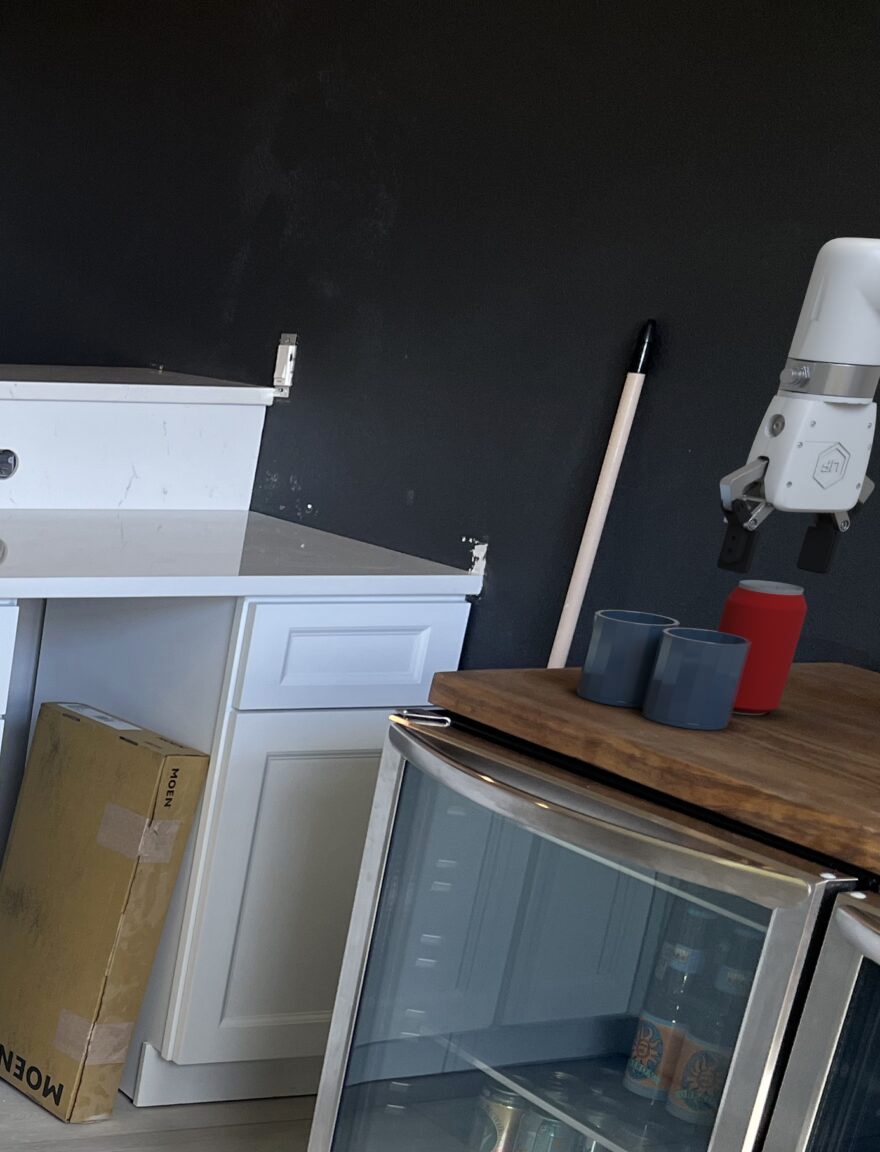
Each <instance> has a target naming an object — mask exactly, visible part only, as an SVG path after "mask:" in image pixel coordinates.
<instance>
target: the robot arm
mask: <svg viewBox="0 0 880 1152" xmlns="http://www.w3.org/2000/svg"><path fill="white" fill-rule="evenodd" d="M879 380H880V238H869V237H868V238H867V237H836V238H834V239H831V240H829V241H827V242H826V243H825V244H824V245H822V247H821V248H820V249H819V251H818V253H817V256H816V259H815V262H814V265H813V269H812V272H811V275H810V278H809V283H808V286H807V289H806V293H805V297H804V300H803V303H802V306H801V311H800V314H799V317H798V321H797V324H796V328H795V330H794V335H793V337H792V341H791V344H790V348H789V351H788V355H787V358H786V361H785V365H784V369H782V371H781V372H780V375H779V381H780V383H779V386H778V390H777V393H776V394H775V395H774V396H773V398H772V399H771V402H770V403H769V405H768V407H767V410H766V412H765V414H764V416H763V418H762V421H761V422H760V423H761V424H760V425H759V428H758V430H757V433H756V435H755V438H754V441H753V442H752V446H751V449H750V451H749V454H748V456H747V460H746V463H745V465H744V466H742V467H740V468H738V469H736V470H735V471H732V472H731V473H729V474H728V475H725V476H724V477H722V478H721V480H720V481H719V489H720V497H721V502H720V509H721V510H722V511H721V512H722V513H723V515H724V518H723V524H724V525H725V526H727V528H726V531H725V534H724V538H723V541H722V546H721V549H720V552H719V556H718V559H717V563H716V566H717V568H718V569H720V570H724V571H728V572H733V573H735V574H744V575H745V574H748V573H749V572H750V571H751V567H752V564H753V561H754V557H755V554H756V550H757V547H758V543H759V540H760V536H761V530H758V529H756V528H757V527H758V526H759V525H760V524H761V523H762V522H763V521H764V520H765V519H766V518H767V517H768V516H769V515H770V514H771V513H772V511H773V510H774V509H776V510H778V511H780V512H788V513H811V516H812V519H813V522H814V525H815V526H814V525H808V526H807V529H806V532H805V535H804V538H803V542H802V545H801V549H800V552H799V555H798V558H797V561H796V567H797V569H799V570H803V571H807V572H812V573H816V574H821V575H827V574H829V573H830V571H831V568H832V565H833V562H834V559H835V557H836V552H837V549H838V547H839V546H838V545H839V542H840V540H841V536H842V533H843V532H846V531H847V530H848V529H849V527H850V525H851V521H853V519H854V518H855V517H857V515H858V514H859V513H860V512H861V510H862V509H863V505H864V503H865V502H866V501H867V499H868V498H869V497H870V496H871V494H872V492H873V491H874V489H875V485H876V484H875V482H874V481H873V480H871V478H869V476H867V474H866V473H867V470H868V469H867V468H868V465H869V461H870V456H871V452H872V449H873V442H874V438H875V437H874V436H875V430H876V422H877V407H878V406H877V403H876V402H874V401H873V399H874V396H875V393H876V390H877V386H878V383H879ZM752 508H754V509H753V510H752V511H750V510H751V509H752Z"/></svg>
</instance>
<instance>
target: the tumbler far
mask: <svg viewBox="0 0 880 1152" xmlns="http://www.w3.org/2000/svg"><path fill="white" fill-rule="evenodd" d="M680 624H681V623H680V621H678V620H677V619H675V618H671V617H669V616H664V615H660V614H655V613H650V612H644V611H643V612H642V611H635V610H624V609H601V610H598V611H595V612H594V617H593V619H592V625H591V629H590V632H589V637H588V641H587V645H586V649H585V654H584V656H583V661H582V664H581V665H582V666H581V670H580V674H579V677H578V682H577V686H576V688H577V689H576V695H577V696H578V697H579V698H583V699H585V700H587V701H591V702H595V703H598V704H604V705H610V706H615V707H621V708H623V707H624V708H638V709H639V708H640V709H643V708H642V707H643V703H644V700H645V696H646V692H647V688H648V684H649V680H650V676H651V673H652V669H653V665H654V661H655V657H656V653H657V649H658V646H659V642H660V638H661V634H662V630H664V629H667V628H680Z"/></svg>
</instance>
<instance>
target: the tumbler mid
mask: <svg viewBox="0 0 880 1152" xmlns="http://www.w3.org/2000/svg"><path fill="white" fill-rule="evenodd" d="M751 643H752V642H751V641H750V640H749V639H747V638H744V637H741V636H738V635H734V634H729V633H725V632H719V631H718V630H713V629H711V630H710V629H705V628H704V629H703V628H693V627H679V628H667V629H664V630H662V634H661V638H660V642H659V646H658V649H657V653H656V657H655V661H654V665H653V669H652V673H651V676H650V680H649V684H648V688H647V692H646V696H645V700H644V703H643V707H642V708H641V709H642V710H641V715H642V717H644V718H645V719H648V720H649V721H651V722H655V723H659V724H661V725H662V724H663V725H667V726H671V727H675V728H676V727H677V728H682V729H690V730H700V731H717V730H718V731H719V730H724V729H727V728H728V726H729V722H730V721H731V718H732V715H733V713H732V711H733V708H734V704H735V700H736V697H737V693H738V690H739V686H740V682H741V679H742V675H743V672H744V668H745V665H746V661H747V657H748V654H749V650H750V647H751Z"/></svg>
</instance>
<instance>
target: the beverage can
mask: <svg viewBox="0 0 880 1152" xmlns="http://www.w3.org/2000/svg"><path fill="white" fill-rule="evenodd" d="M731 591H732V592H730V593H729V595H728V596H727V597H726V599H725V603H724V607H723V609H722V613H721V616H720V620H719V623H718V628H717V631H719V632H725V633H729V634H734V635H738V636H741V637H744V638H747V639H749V640H750V641H751V642H752V643H751V647H750V650H749V654H748V657H747V661H746V665H745V668H744V672H743V675H742V679H741V682H740V686H739V690H738V693H737V697H736V700H735V704H734V708H733V711H732V714H736V715H745V716H762V715H765V714H767V713H768V712H772V711H774V710H777V709H779V707H780V704H781V700H782V697H783V694H784V692H785V688H786V684H787V681H788V678H789V674H790V670H791V667H792V664H793V661H794V657H795V653H796V649H797V646H798V642H799V639H800V637H801V633H802V628H803V625H804V622H805V618H806V614H807V611H808V610H807V609H808V605H807V601H806V599H805V594H804V591H805V589H804V587H802V586H799V585H795V584H792V583H791V584H790V583H785V582H781V581H779V582H778V581H772V580H771V581H770V580H762V579H761V580H759V579H744V580H739V582H738V585H737V586H736V587H735V588H734V589H733V590H731Z"/></svg>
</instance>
